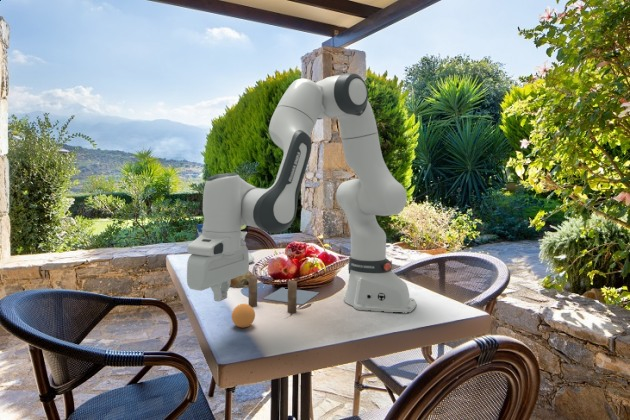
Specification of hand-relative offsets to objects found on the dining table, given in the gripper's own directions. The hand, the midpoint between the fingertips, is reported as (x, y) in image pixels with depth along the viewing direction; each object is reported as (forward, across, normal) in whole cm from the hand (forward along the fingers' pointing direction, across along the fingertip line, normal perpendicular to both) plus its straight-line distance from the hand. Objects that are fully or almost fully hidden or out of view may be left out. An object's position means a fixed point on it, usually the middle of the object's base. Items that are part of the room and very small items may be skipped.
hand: (220, 299), depth 97 cm
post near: (+10, -26, +7) cm, 29 cm away
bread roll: (+10, -45, -23) cm, 52 cm away
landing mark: (+9, -40, 0) cm, 41 cm away
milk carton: (+10, -52, -40) cm, 66 cm away
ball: (+7, -10, 0) cm, 12 cm away
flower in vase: (+9, -75, -42) cm, 86 cm away
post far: (+10, -26, -6) cm, 28 cm away
